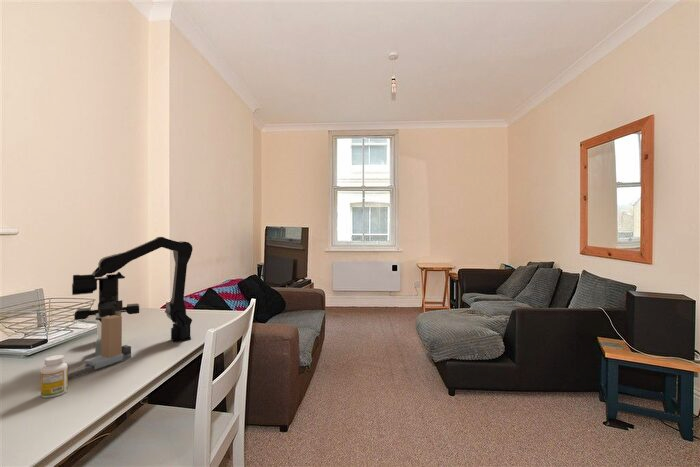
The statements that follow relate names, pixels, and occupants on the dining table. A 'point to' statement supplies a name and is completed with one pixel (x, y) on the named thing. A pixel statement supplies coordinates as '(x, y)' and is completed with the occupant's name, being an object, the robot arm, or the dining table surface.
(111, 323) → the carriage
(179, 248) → the robot arm
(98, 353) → the gauge cabinet
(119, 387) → the dining table surface
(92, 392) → the dining table surface
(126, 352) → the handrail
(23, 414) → the dining table surface
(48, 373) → the supplement bottle
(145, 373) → the dining table surface
